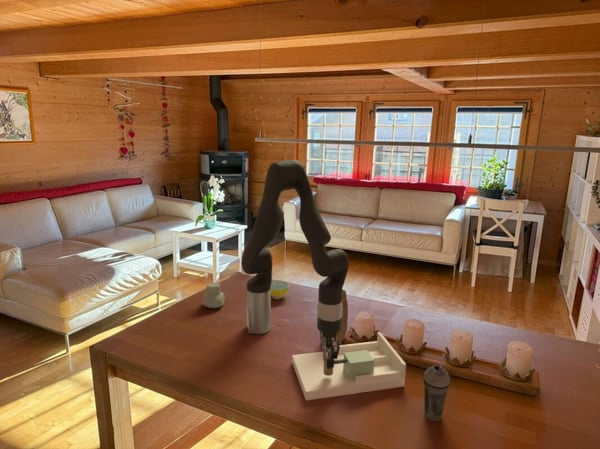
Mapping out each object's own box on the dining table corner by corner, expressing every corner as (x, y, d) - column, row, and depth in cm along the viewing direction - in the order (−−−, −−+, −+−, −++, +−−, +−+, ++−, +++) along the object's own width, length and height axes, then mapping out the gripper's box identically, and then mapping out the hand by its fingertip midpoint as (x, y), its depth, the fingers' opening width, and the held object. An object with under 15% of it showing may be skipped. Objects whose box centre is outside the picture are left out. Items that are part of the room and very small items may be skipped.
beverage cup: (416, 407, 123) (421, 346, 118) (440, 406, 124) (446, 345, 119) (425, 425, 116) (431, 361, 111) (450, 424, 117) (458, 360, 112)
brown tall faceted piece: (337, 348, 154) (339, 298, 149) (319, 343, 157) (320, 293, 152) (349, 335, 163) (351, 287, 158) (331, 330, 167) (333, 283, 161)
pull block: (326, 383, 129) (326, 355, 127) (320, 372, 135) (321, 345, 132) (373, 377, 132) (375, 350, 130) (366, 366, 138) (367, 340, 136)
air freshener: (221, 311, 182) (220, 289, 180) (202, 311, 182) (200, 289, 180) (225, 300, 193) (225, 280, 190) (207, 300, 193) (206, 279, 190)
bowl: (292, 294, 200) (292, 281, 198) (284, 304, 190) (284, 291, 188) (270, 290, 204) (270, 278, 202) (261, 300, 193) (260, 287, 192)
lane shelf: (305, 400, 126) (306, 377, 124) (292, 362, 145) (292, 342, 143) (404, 386, 133) (406, 364, 131) (379, 352, 152) (380, 332, 150)
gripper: (311, 305, 132) (311, 353, 137) (324, 326, 119) (323, 379, 124) (334, 303, 134) (333, 351, 138) (349, 323, 121) (347, 376, 125)
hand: (328, 364), depth 131 cm, fingers closed on pull block, 3 cm apart
